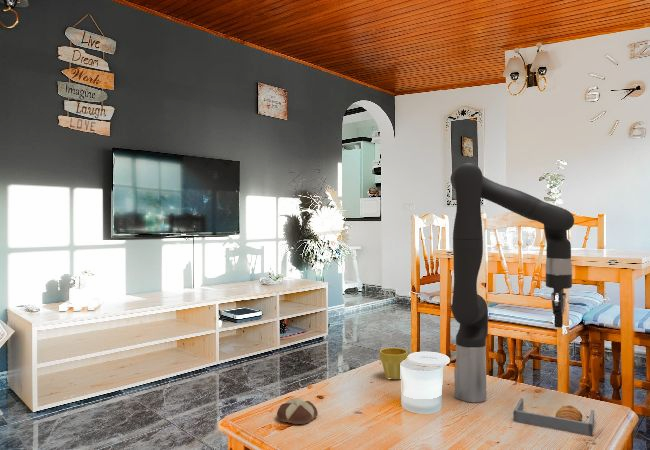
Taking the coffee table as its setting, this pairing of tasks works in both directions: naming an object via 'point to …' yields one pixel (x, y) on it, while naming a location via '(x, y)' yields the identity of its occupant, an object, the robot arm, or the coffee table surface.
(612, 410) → the coffee table surface
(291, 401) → the bread
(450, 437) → the coffee table surface
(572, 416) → the pastry
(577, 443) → the coffee table surface
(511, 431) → the coffee table surface
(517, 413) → the box
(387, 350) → the plant pot
